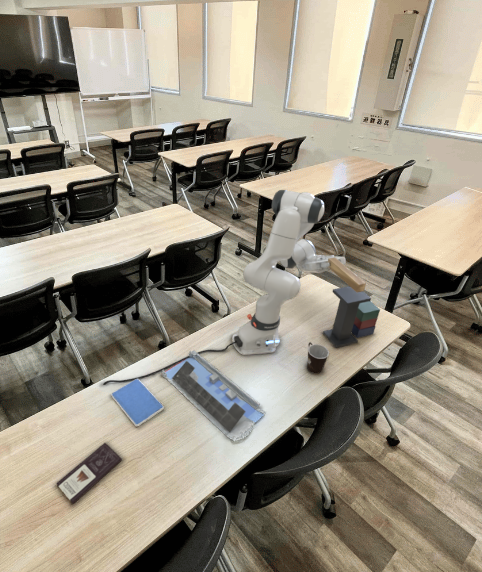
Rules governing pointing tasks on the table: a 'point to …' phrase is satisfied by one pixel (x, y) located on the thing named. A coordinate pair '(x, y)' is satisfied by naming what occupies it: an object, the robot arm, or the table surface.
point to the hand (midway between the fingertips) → (334, 263)
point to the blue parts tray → (215, 396)
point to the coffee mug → (316, 357)
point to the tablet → (137, 402)
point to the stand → (345, 316)
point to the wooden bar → (347, 275)
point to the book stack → (365, 319)
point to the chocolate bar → (88, 473)
